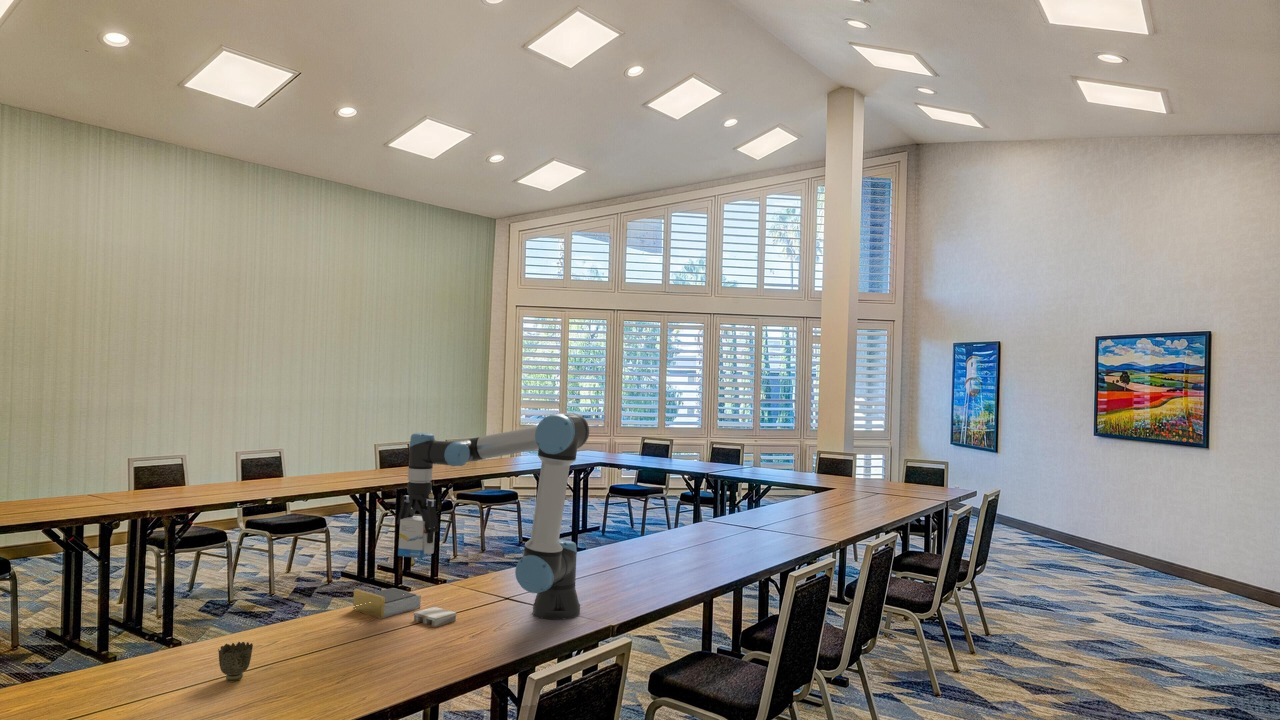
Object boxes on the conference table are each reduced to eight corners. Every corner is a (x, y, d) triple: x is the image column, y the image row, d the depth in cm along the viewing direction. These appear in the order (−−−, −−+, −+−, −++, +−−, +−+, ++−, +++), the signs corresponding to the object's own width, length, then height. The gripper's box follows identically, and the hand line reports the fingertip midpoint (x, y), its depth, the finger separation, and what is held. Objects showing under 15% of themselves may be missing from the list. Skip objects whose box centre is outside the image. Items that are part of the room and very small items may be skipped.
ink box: (421, 558, 244) (423, 521, 244) (397, 556, 245) (399, 519, 246) (434, 553, 252) (436, 517, 252) (411, 550, 254) (413, 514, 254)
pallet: (456, 620, 237) (456, 612, 237) (435, 627, 230) (436, 618, 230) (434, 614, 243) (434, 606, 243) (413, 620, 236) (413, 612, 236)
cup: (225, 673, 190) (226, 641, 190) (256, 673, 191) (257, 641, 191) (211, 685, 183) (212, 651, 183) (243, 685, 183) (245, 651, 184)
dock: (420, 607, 249) (421, 587, 250) (381, 618, 237) (381, 597, 237) (392, 599, 257) (393, 580, 257) (353, 610, 245) (353, 589, 245)
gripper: (452, 484, 246) (449, 554, 245) (406, 476, 259) (403, 542, 258) (434, 486, 240) (430, 558, 239) (387, 478, 253) (384, 546, 252)
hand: (416, 550), depth 249 cm, fingers closed on ink box, 10 cm apart
